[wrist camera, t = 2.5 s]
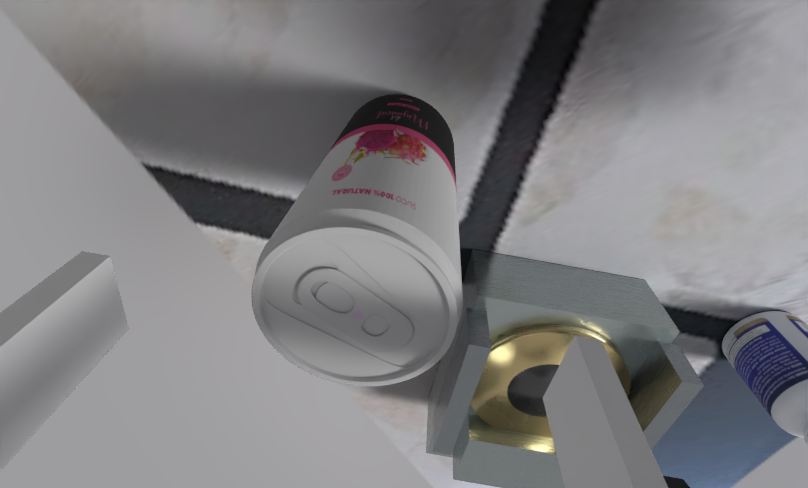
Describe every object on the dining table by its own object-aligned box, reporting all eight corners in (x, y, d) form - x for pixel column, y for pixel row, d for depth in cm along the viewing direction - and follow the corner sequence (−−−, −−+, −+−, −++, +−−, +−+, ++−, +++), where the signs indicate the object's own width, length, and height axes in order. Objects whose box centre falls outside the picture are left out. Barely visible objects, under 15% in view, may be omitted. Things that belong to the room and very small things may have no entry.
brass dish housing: (466, 248, 29) (473, 330, 22) (651, 281, 29) (714, 373, 22) (423, 398, 37) (419, 491, 30) (566, 423, 37) (593, 520, 31)
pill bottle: (715, 365, 32) (797, 481, 25) (723, 314, 30) (817, 426, 22) (795, 357, 31) (906, 475, 24) (810, 303, 29) (939, 417, 21)
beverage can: (390, 66, 23) (324, 172, 10) (476, 144, 25) (511, 315, 12) (324, 153, 26) (208, 319, 13) (405, 216, 28) (372, 415, 15)
